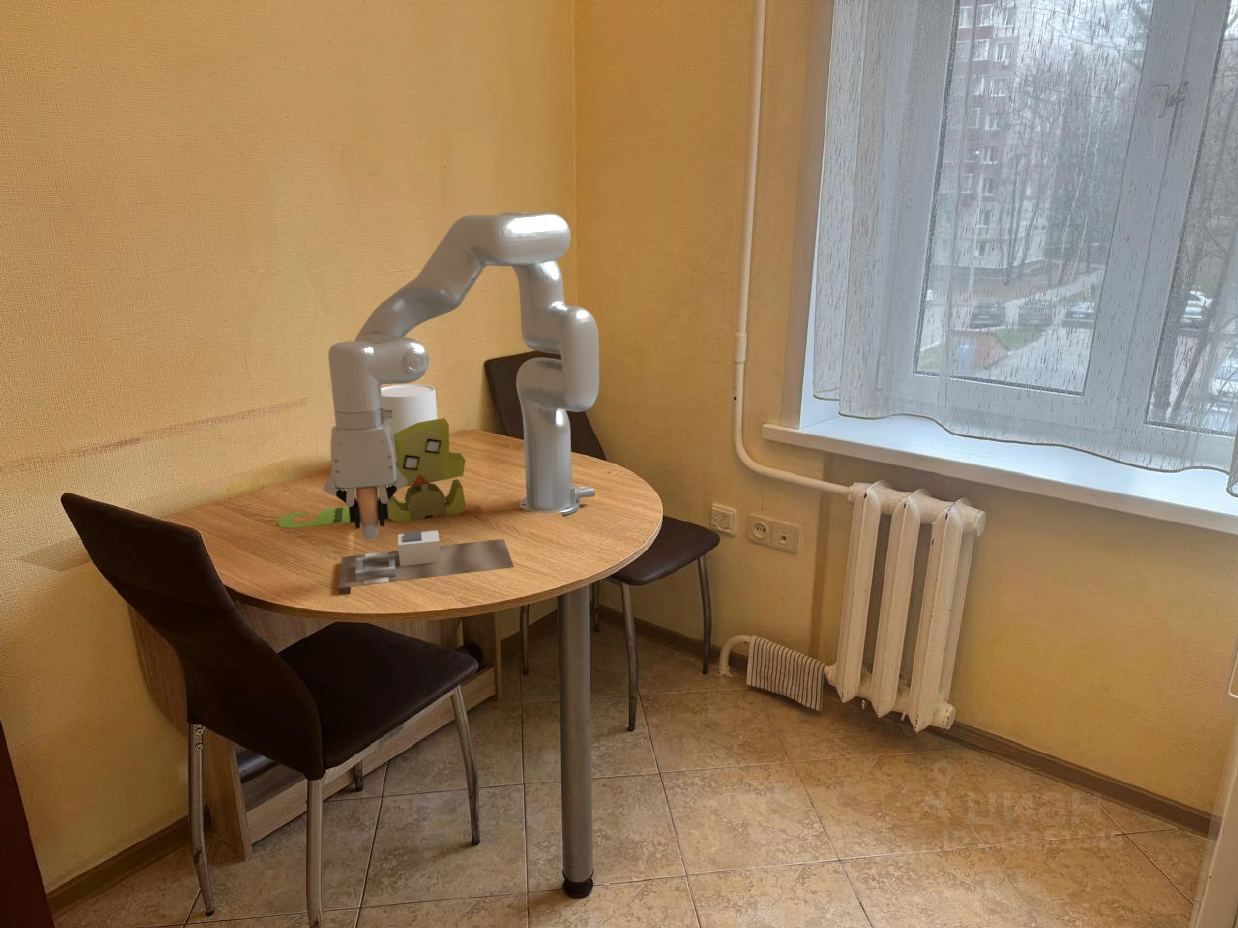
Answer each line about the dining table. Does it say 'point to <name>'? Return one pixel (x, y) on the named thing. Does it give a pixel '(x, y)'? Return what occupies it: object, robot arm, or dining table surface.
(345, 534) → the dining table surface
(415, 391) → the canister
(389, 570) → the panel
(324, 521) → the door hanger
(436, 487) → the toy
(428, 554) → the block
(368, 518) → the tan rounded cylinder
